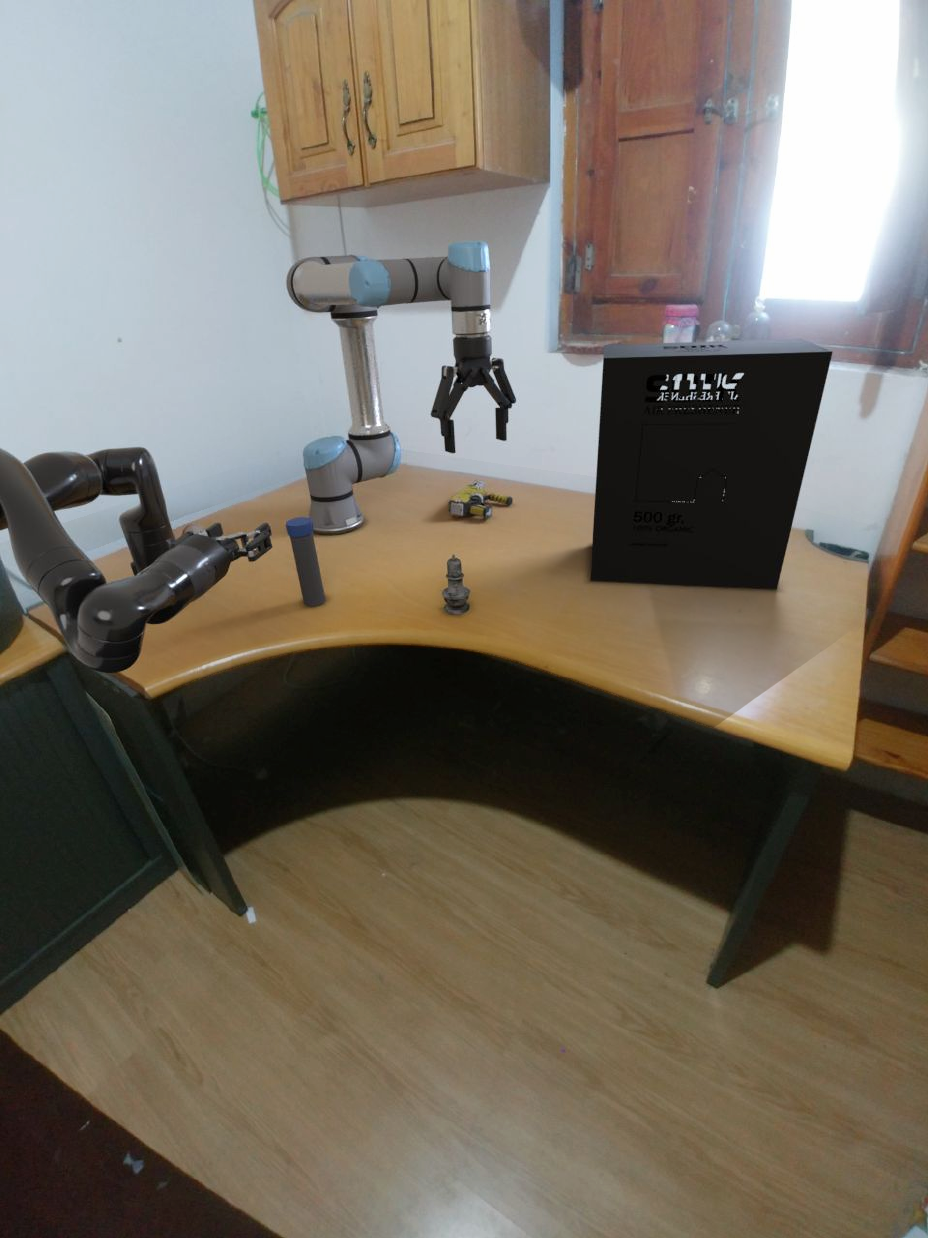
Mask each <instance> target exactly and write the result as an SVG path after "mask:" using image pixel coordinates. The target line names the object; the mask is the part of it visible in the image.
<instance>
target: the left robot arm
mask: <svg viewBox="0 0 928 1238" xmlns="http://www.w3.org/2000/svg"><path fill="white" fill-rule="evenodd" d="M134 495H135V496H136V495H137V496H138V498H139V503H138V505H135V506H133V507H131V508H128V509H127V510H125V511H123V512H122V513H121V514H120V515H119V516H118V522H119V525H120V528H121V531H122V534H123V536H124V539H125V542H126V544H127V547H128V550H129V553H130V556H131V558H132V561H130V568H131V572H132V574H133V575H132V576H128V577H123V578H120V579H116V580H113V581H110V582H107V579H106V577H105V576H104V574H103V573H102V571H101V570H100V569H99V568H98V566H97V565H95V563H94V562H93V561H92V560H91V559H90V558H89V556H88V555H87V554H85V553H84V551H83V550H82V549H81V548H80V547H79V546H78V545H77V543H76V542H75V541H74V540H73V539H72V538H71V536H70V535H69V534H68V532H67V531H66V529H65V528H64V527H63V525H62V523H61V521H60V520H59V518H58V516H57V514H56V512H57V511H62V510H68V509H74V508H77V507H81V506H85V505H87V504H90V503H92V502H94V501H96V500H97V498H99V496H109V497H110V496H111V497H113V496H114V497H121V496H134ZM169 517H170V516H169V514H168V509H167V503H166V499H165V496H164V492H163V489H162V484H161V479H160V475H159V472H158V468H157V465H156V461H155V459H154V457H153V455H152V454H151V452H150V451H149V450H148V449H147V448H145V447H144V446H143V447H142V446H128V447H114V448H105V449H100V450H97V451H94V452H90V453H87V454H84V453H81V452H77V451H71V450H70V451H68V450H63V451H62V450H61V451H48V452H42V453H39V454H36V455H35V456H32V457H30V458H29V459H27V460H26V461H24V462H23V461H22V460H20V459H19V458H18V457H16V456H15V455H14V454H12V453H11V452H9V451H7V450H6V449H4V448H2V447H0V531H1V532H2V531H4V530H7V531H8V536H9V540H10V541H9V542H10V546H11V550H12V551H11V552H12V555H13V558H14V561H15V563H16V566H17V568H18V570H19V572H20V574H21V576H22V577H23V579H24V580H25V581H26V582H27V584H28V585H29V586H30V587H31V589H32V590H33V591H34V592H35V593H36V595H38V597H39V598H40V599H41V600H42V601H43V602H44V603H45V604H46V606H48V608H49V610H50V612H51V614H52V617H53V619H54V622H55V624H56V626H57V628H58V629H59V632H60V634H61V636H62V638H63V640H64V642H65V644H66V645H67V647H68V649H69V651H70V652H71V653H72V655H73V656H74V658H76V659H77V660H78V661H79V662H80V663H81V664H82V665H84V666H86V667H87V668H89V669H90V670H92V671H96V672H98V673H103V674H116V673H121V672H125V671H126V670H128V669H130V668H131V667H133V665H135V663H136V662H137V661H138V659H139V657H140V655H141V652H142V648H143V643H144V638H145V633H146V627H147V625H161V624H165V623H167V622H169V621H170V620H172V619H173V618H174V617H176V616H177V615H179V614H180V613H181V612H182V611H183V610H184V609H186V608H187V607H188V606H189V605H190V604H192V603H193V602H196V601H197V600H199V599H200V598H201V597H203V596H204V595H205V594H206V593H207V592H209V590H210V589H212V588H213V587H215V586H216V584H218V583H219V582H220V581H221V580H222V579H223V578H225V577H226V576H227V574H228V572H229V570H230V567H231V564H232V562H235V561H237V560H239V559H240V558H247V560H248V562H249V563H253V562H256V561H257V560H258V559H261V557H262V556H264V555H265V554H267V552H269V551H271V549H272V548H273V544H272V540H271V537H272V535H273V532H272V527H271V525H270V524H269V523H268V522H262V524H260V525H258V527H256V528H255V529H254V530H253V531H250V532H246V533H245V532H244V531H239V532H236V533H233V534H229V535H224V530H223V527H222V524H221V523H220V522H215V523H213V524H211V525H210V526H209V527H207V528H206V529H205V530H200V531H198V534H193V532H192V531H189V532H186V533H185V534H183V535H182V534H181V535H180V536H179V537H178V538H176V536H175V533H174V531H173V527H172V524H171V521H170V518H169ZM239 539H240V543H241V547H240V546H239V543H238V540H239ZM250 539H252V540H251V541H249V540H250Z"/></svg>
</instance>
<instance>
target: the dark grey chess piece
mask: <svg viewBox="0 0 928 1238" xmlns="http://www.w3.org/2000/svg"><path fill="white" fill-rule="evenodd" d="M462 567H463V566H462V561H461V559H460V558H458V557H456V555H455V554H454V553H452V555H451V557H450V558H449V559H448V560H447V561H446V569H447V570H446V574H445V578H446V579H447V587H446V588H444V589H443V590H442V591H441V596H442V598H443V600H444V602H445V603H446V604H445V605H444V607H443V608H444V611H445V612H446V613H448V614H452V615H461V614H464V613H466V612H468V611H469V610H470V608H471V606H470V604H469V603H468V600H469V598H470V595H471V590H470V589H469V588H468V587H466V586H464V579H463V578H464V577H465V574H464V573H463V568H462Z"/></svg>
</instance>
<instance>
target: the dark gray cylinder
mask: <svg viewBox="0 0 928 1238" xmlns="http://www.w3.org/2000/svg"><path fill="white" fill-rule="evenodd" d="M314 538H315V537H314V532H313V533H311V534H309V535H307V536H303V537H291V536H289V539H290V545H291V548H292V549H291V550H292V554H293V559H294V564H295V567H296V568H295V569H296V573H297V578H298V582H299V587H300V590H301V591H300V592H301V596H302V601H303V605H304V606H305V607H310V608H314V607H319V606H321V605H323V604H325V602H326V596H325V591H324V585H323V580H322V579H323V578H322V574H321V569H320V564H319V558H318V553H317V548H316V543H315V539H314Z"/></svg>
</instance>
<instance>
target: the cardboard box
mask: <svg viewBox="0 0 928 1238" xmlns="http://www.w3.org/2000/svg"><path fill="white" fill-rule="evenodd" d="M833 353H834V352H833V350H830V349H827V348H826V347H825V348H824V347H822V346H821V345H818V344H815V343H813V342H810V341H808V340H805V339H802V338H783V339H782V338H781V339H779V338H777V339H776V338H775V339H749V340H747V339H746V340H723V341H722V340H720V341H719V340H718V341H689V342H687V341H685V342H683V341H682V342H657V343H654V342H653V343H627V344H625V343H624V344H623V343H621V344H604V345H603V359H602V362H603V363H602V375H601V389H600V390H601V392H600V409H599V424H598V425H599V426H598V427H599V428H598V442H597V457H596V458H597V459H596V460H597V461H596V475H595V493H594V496H595V497H594V508H593V509H594V510H593V525H592V527H593V528H592V541H591V557H590V558H591V560H590V575H589V576H590V577H589V580H590V582H603V583H622V584H623V583H625V584H626V583H628V584H645V585H647V584H648V585H669V586H670V585H671V586H693V587H712V588H714V587H715V588H734V589H735V588H737V589H755V590H757V589H758V590H759V589H760V590H778V586H779V582H780V577H781V574H782V570H783V565H784V561H785V556H786V553H787V548H788V543H789V539H790V536H791V531H792V526H793V522H794V519H795V513H796V510H797V505H798V501H799V497H800V493H801V489H802V484H803V480H804V476H805V471H806V467H807V464H808V463H807V462H808V458H809V455H810V450H811V446H812V442H813V437H814V434H815V430H816V425H817V421H818V417H819V411H820V407H821V404H822V400H823V399H822V398H823V394H824V390H825V386H826V381H827V378H828V374H829V369H830V366H831V360H832V356H833ZM738 374H742V376H741V377H740V378H735V376H736V375H738ZM678 375H681V379H680V380H679V384H678V388H675V385H676V379H675V377H676V376H678ZM689 375H693V380H692V381H691V379H688V376H689ZM702 375H704V379H702ZM719 378H720V382H719ZM724 378H725V382H724ZM723 382H724V385H730V384H731V385H734V388H725V387H724V386H723ZM691 383H692V385H695V388H691ZM705 385H710V388H704V386H705ZM662 387H666V389H662Z"/></svg>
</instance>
